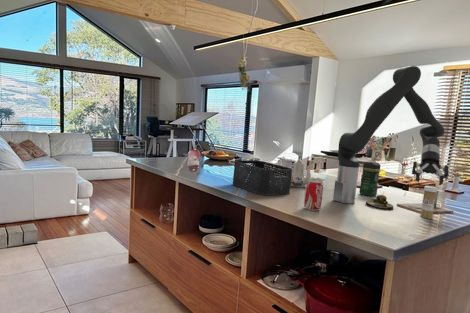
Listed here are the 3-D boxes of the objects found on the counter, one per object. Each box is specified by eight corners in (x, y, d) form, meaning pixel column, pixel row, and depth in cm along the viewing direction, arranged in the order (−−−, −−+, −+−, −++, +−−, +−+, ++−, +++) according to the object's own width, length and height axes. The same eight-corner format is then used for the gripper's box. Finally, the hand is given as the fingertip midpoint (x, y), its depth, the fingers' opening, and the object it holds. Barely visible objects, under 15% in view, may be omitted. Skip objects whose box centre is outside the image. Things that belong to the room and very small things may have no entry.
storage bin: (292, 194, 165) (295, 168, 163) (263, 196, 154) (265, 168, 152) (257, 183, 188) (259, 160, 187) (229, 184, 177) (231, 160, 176)
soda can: (311, 211, 132) (314, 182, 131) (299, 207, 138) (302, 179, 137) (324, 211, 135) (327, 182, 134) (312, 206, 141) (315, 179, 140)
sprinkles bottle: (419, 217, 139) (423, 186, 138) (421, 215, 142) (425, 185, 141) (431, 219, 136) (436, 188, 135) (433, 217, 139) (437, 187, 138)
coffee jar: (370, 197, 175) (375, 162, 173) (357, 193, 181) (361, 160, 179) (379, 195, 181) (383, 162, 179) (365, 192, 187) (369, 160, 185)
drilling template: (422, 213, 145) (425, 194, 144) (396, 205, 158) (399, 187, 157) (453, 212, 153) (455, 194, 152) (426, 205, 166) (428, 187, 165)
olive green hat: (360, 204, 156) (362, 188, 155) (378, 203, 161) (380, 188, 160) (380, 211, 145) (382, 194, 144) (399, 210, 150) (401, 194, 149)
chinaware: (326, 190, 192) (330, 162, 192) (317, 191, 178) (322, 161, 178) (283, 182, 207) (286, 156, 207) (271, 182, 193) (275, 155, 193)
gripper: (414, 148, 155) (412, 175, 146) (449, 152, 149) (449, 179, 140) (412, 159, 160) (410, 185, 151) (446, 162, 154) (446, 190, 145)
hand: (429, 182), depth 145 cm, fingers open, 8 cm apart
